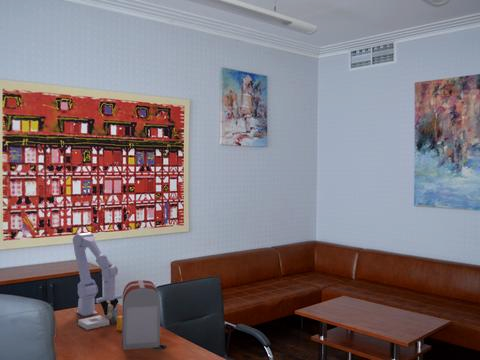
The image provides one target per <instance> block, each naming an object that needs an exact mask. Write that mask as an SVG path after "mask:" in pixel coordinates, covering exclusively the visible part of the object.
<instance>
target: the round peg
mask: <svg viewBox="0 0 480 360" xmlns="http://www.w3.org/2000/svg"><path fill="white" fill-rule="evenodd" d="M118 316H119V308H117V307H116V308H112V315H111V319H110V321H111V324H117V317H118Z"/></svg>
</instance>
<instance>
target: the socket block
mask: <svg viewBox="0 0 480 360" xmlns="http://www.w3.org/2000/svg"><path fill="white" fill-rule="evenodd" d="M77 324H78V326H79V327H81V328H83V329H85V330H86V331H89V330H92V329H97V328H100V327H101V326H102V327H106V325H107V326H110V319H106V318H105V316H102V315H95V316H91V317H90V316H89V317H85V318H81V319H78V323H77ZM102 327H101V328H102Z"/></svg>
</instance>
